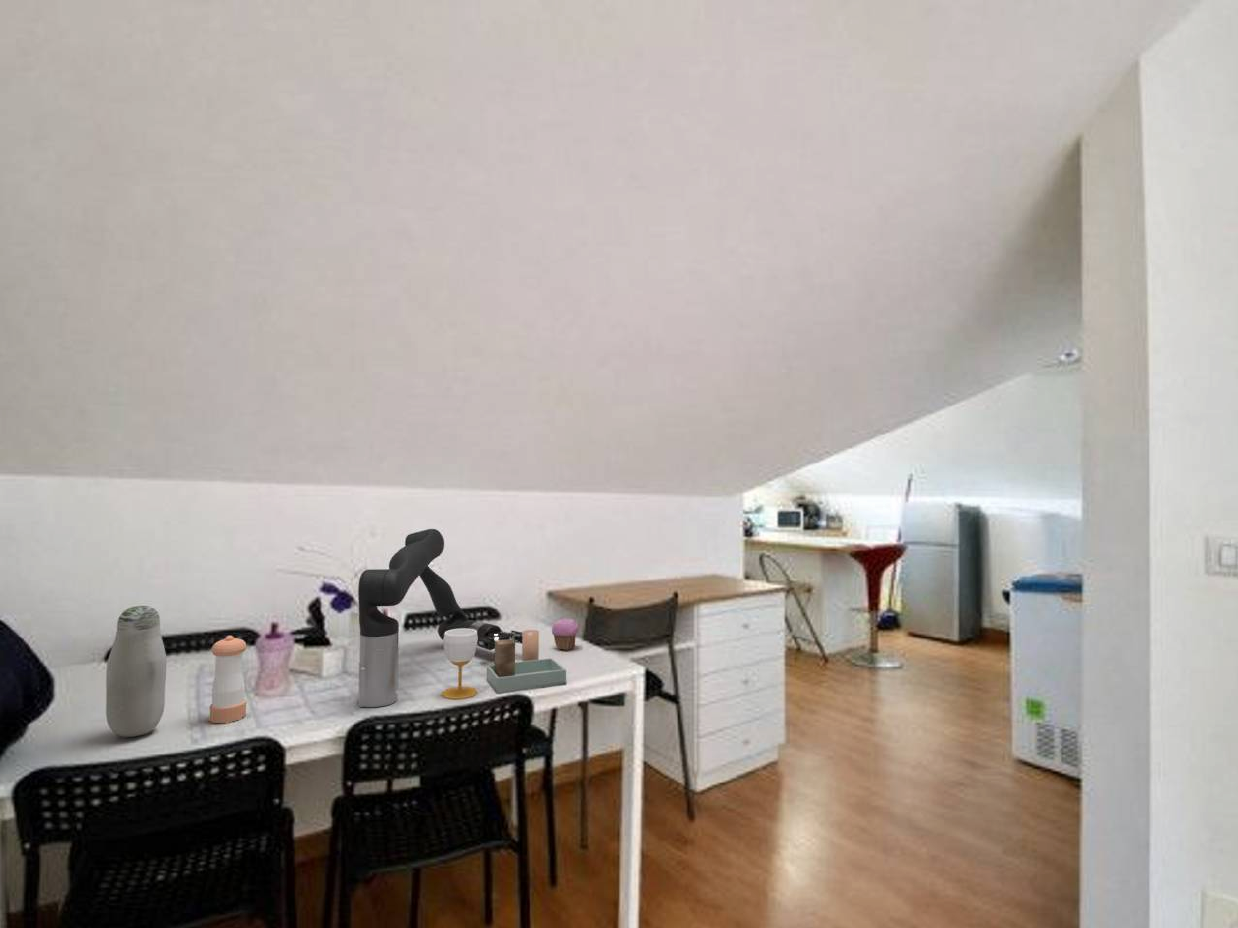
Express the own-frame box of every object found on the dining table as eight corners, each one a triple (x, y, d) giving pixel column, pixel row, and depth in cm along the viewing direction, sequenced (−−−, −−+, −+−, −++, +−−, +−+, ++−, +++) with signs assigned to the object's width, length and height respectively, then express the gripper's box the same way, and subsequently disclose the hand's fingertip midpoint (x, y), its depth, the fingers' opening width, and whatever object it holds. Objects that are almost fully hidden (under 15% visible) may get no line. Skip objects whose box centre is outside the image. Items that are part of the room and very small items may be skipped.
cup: (440, 689, 171) (441, 629, 171) (474, 686, 174) (475, 626, 174) (443, 700, 162) (444, 637, 162) (479, 696, 165) (480, 634, 166)
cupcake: (583, 647, 213) (583, 617, 214) (569, 653, 206) (569, 622, 206) (560, 644, 218) (561, 614, 218) (546, 650, 210) (546, 619, 210)
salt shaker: (206, 717, 150) (207, 635, 150) (241, 709, 155) (242, 630, 155) (213, 726, 144) (215, 641, 145) (249, 718, 150) (251, 636, 150)
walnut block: (498, 685, 172) (498, 644, 172) (494, 680, 176) (494, 640, 176) (514, 683, 174) (515, 642, 174) (510, 678, 178) (510, 638, 178)
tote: (497, 693, 168) (497, 678, 168) (486, 679, 179) (486, 665, 179) (565, 684, 176) (566, 669, 176) (551, 671, 187) (551, 658, 187)
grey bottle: (93, 742, 136) (96, 610, 136) (137, 723, 146) (140, 600, 146) (134, 745, 134) (137, 612, 135) (175, 726, 144) (177, 602, 145)
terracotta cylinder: (524, 672, 186) (525, 634, 186) (520, 667, 190) (520, 630, 191) (540, 670, 188) (540, 633, 188) (535, 666, 192) (536, 629, 193)
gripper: (466, 627, 198) (499, 635, 188) (502, 619, 209) (535, 627, 198) (465, 651, 198) (499, 661, 187) (502, 642, 209) (535, 651, 198)
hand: (518, 643), depth 193 cm, fingers open, 8 cm apart
